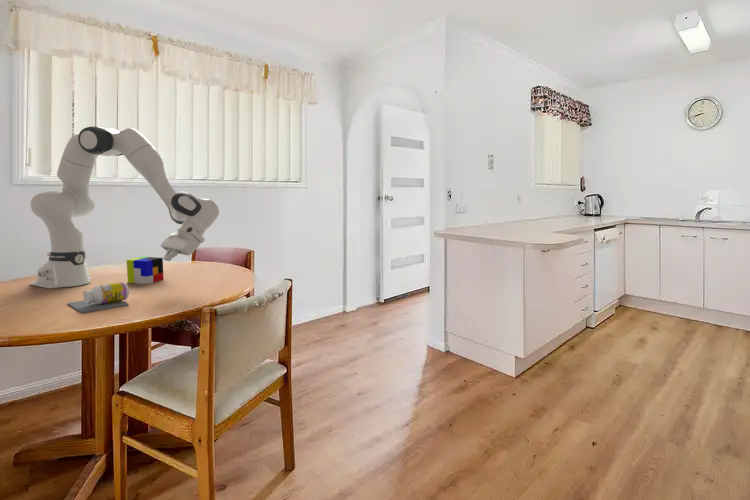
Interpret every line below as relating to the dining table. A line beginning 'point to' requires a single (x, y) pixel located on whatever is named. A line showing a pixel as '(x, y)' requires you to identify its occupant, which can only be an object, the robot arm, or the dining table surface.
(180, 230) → the robot arm
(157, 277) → the puzzle toy
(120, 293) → the supplement bottle
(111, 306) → the mat
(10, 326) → the dining table surface
